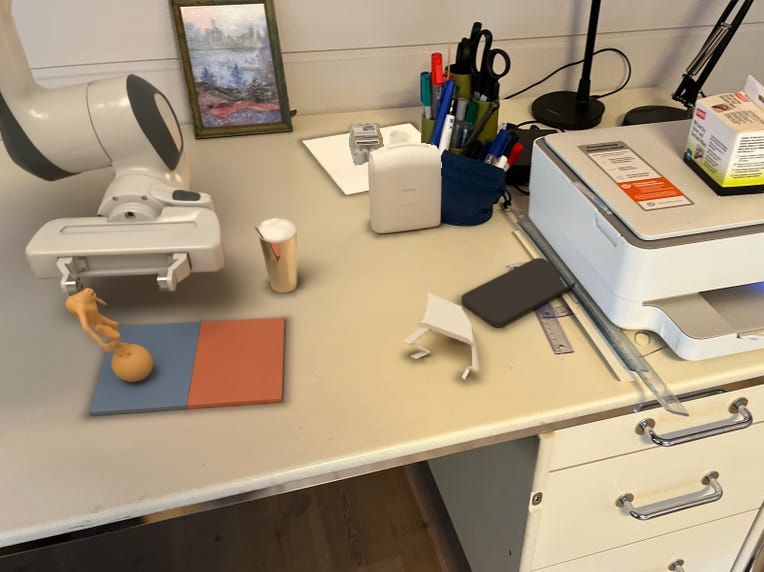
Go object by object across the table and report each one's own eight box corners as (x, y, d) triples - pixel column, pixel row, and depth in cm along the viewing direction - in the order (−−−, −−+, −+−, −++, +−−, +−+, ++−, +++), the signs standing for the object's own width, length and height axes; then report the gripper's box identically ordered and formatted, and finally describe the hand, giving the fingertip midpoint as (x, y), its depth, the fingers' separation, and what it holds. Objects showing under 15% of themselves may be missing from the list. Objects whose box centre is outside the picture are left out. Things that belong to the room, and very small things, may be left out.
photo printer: (373, 237, 105) (371, 155, 97) (367, 221, 108) (364, 140, 100) (444, 228, 108) (447, 148, 100) (435, 213, 111) (438, 134, 103)
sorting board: (90, 416, 76) (88, 411, 76) (116, 330, 87) (114, 326, 86) (281, 402, 80) (281, 398, 79) (284, 321, 90) (284, 317, 90)
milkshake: (253, 290, 94) (241, 220, 88) (284, 271, 98) (275, 203, 91) (278, 303, 92) (269, 233, 86) (310, 284, 96) (303, 215, 89)
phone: (457, 296, 94) (539, 255, 102) (457, 301, 95) (538, 260, 103) (497, 325, 91) (580, 280, 99) (497, 330, 91) (579, 285, 99)
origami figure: (385, 345, 88) (384, 312, 84) (436, 316, 93) (437, 283, 89) (458, 397, 82) (460, 364, 79) (509, 363, 87) (513, 330, 83)
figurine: (161, 397, 78) (133, 305, 70) (98, 412, 76) (62, 318, 68) (152, 349, 84) (125, 258, 76) (93, 361, 82) (59, 269, 74)
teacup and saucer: (382, 173, 119) (381, 149, 117) (362, 152, 125) (361, 128, 122) (431, 163, 123) (432, 140, 120) (410, 143, 128) (410, 120, 125)
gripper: (36, 198, 85) (-1, 267, 75) (224, 193, 88) (213, 258, 78) (53, 246, 89) (20, 317, 79) (232, 239, 92) (223, 307, 82)
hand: (118, 288), depth 78 cm, fingers open, 8 cm apart
